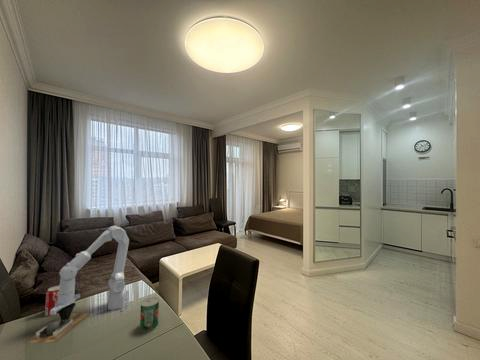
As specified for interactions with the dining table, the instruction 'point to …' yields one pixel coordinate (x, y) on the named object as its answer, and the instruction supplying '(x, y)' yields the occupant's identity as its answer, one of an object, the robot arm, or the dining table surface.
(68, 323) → the c clip
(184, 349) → the dining table surface
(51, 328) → the grey rounded block
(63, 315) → the robot arm
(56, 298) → the soda can
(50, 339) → the board
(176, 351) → the dining table surface
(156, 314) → the canned tomato
